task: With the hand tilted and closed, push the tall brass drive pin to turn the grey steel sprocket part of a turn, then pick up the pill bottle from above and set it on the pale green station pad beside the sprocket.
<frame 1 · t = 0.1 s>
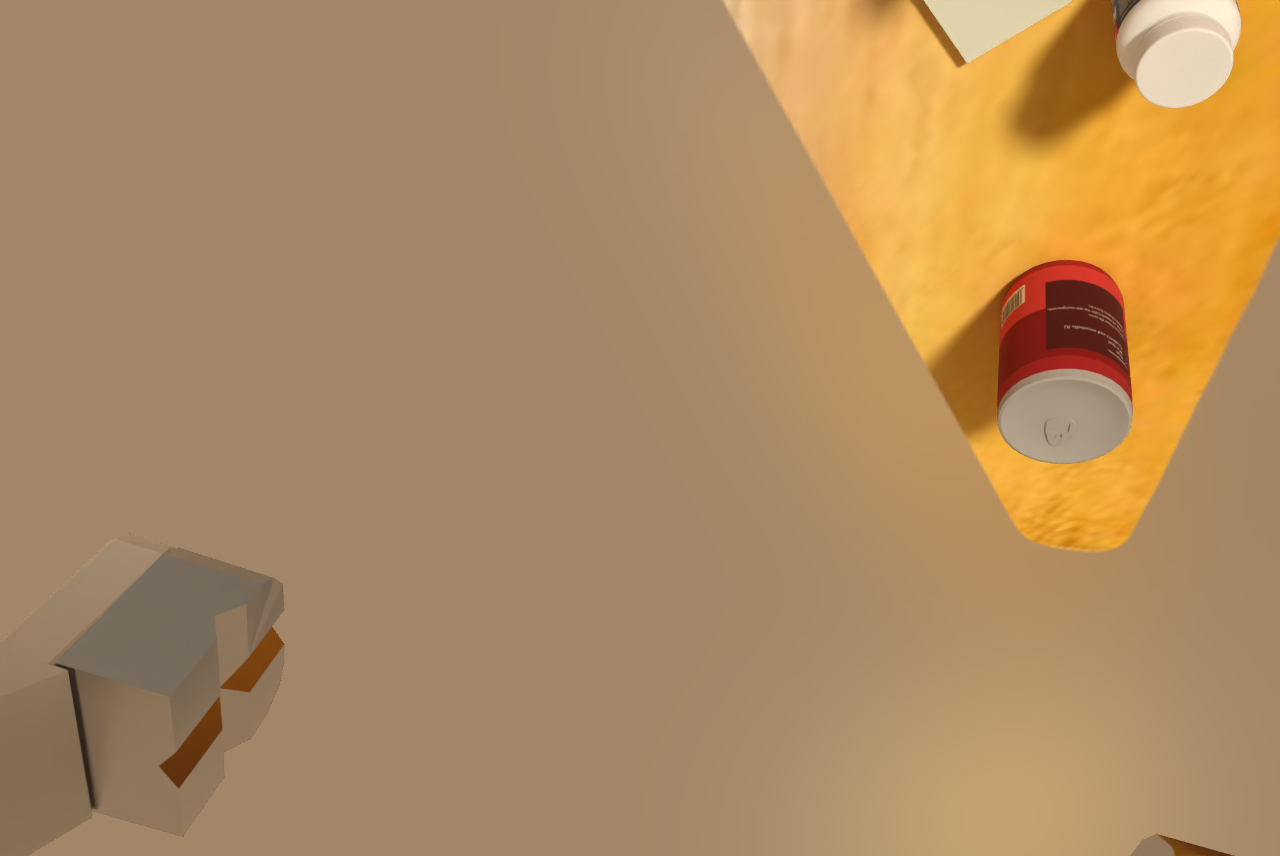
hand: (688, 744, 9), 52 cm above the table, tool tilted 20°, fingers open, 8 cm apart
canned food: (1060, 300, 68), on the table
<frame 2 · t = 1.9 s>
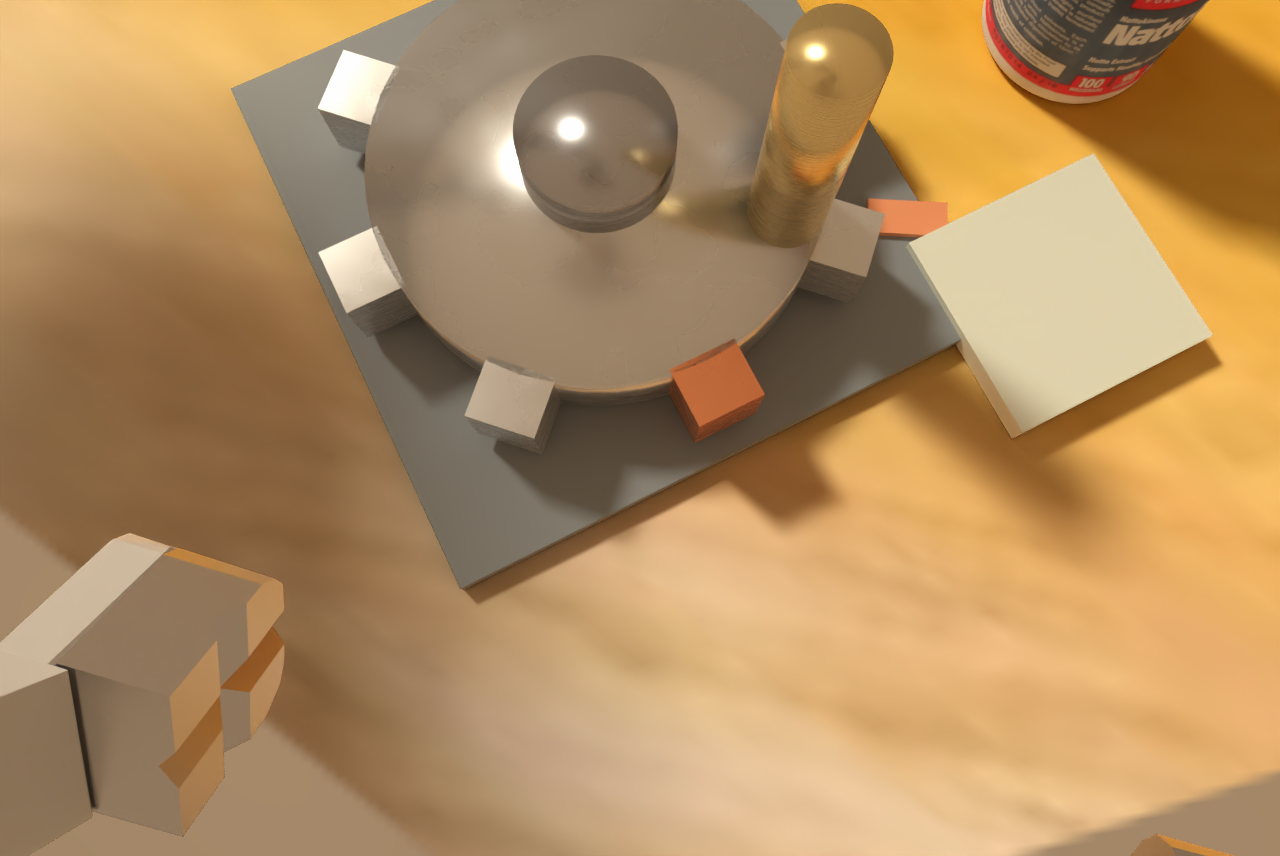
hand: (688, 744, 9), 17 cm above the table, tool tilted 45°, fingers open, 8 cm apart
sprocket: (593, 109, 24), point 6 cm above the table, hinge at 0.0°
gray square plate: (602, 210, 29), on the table
pill bottle: (1063, 33, 30), on the table
station pad: (1047, 298, 28), on the table
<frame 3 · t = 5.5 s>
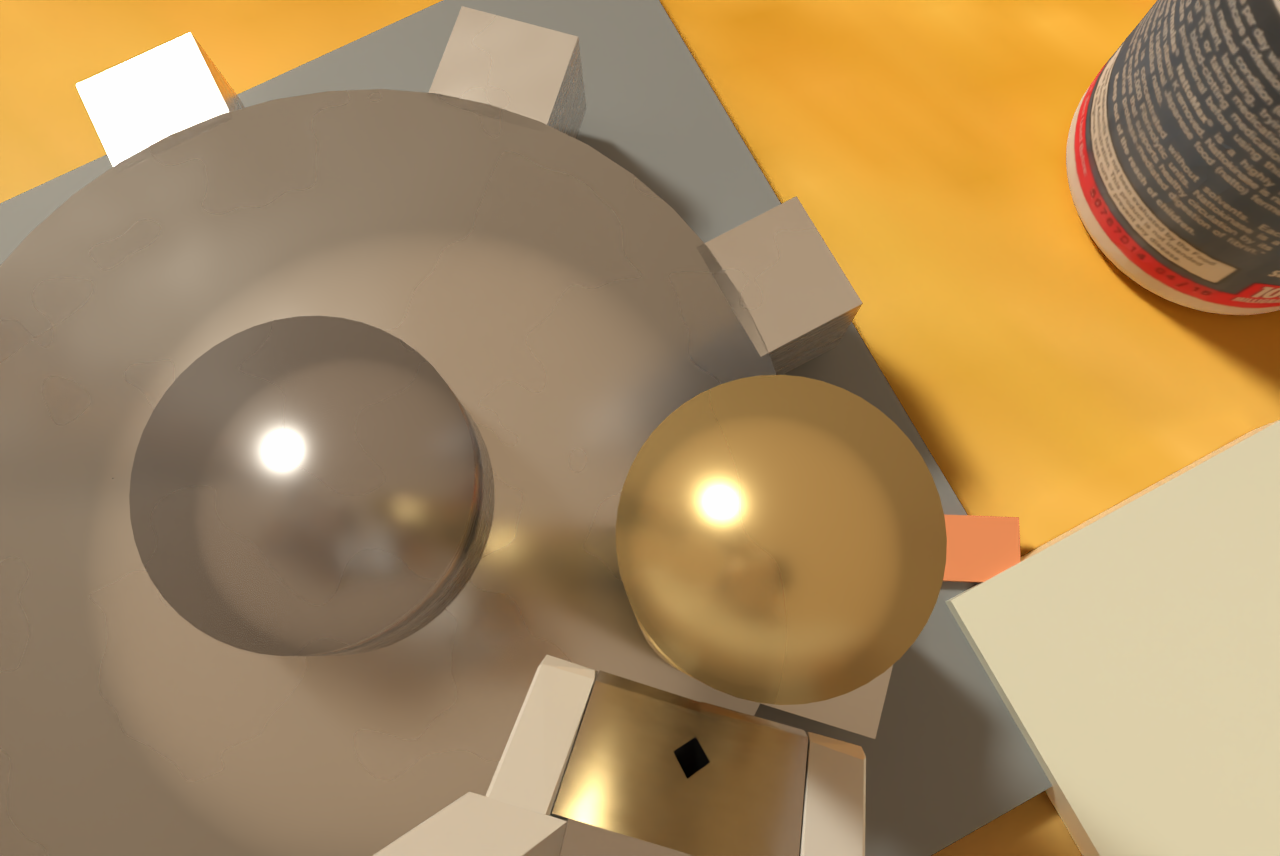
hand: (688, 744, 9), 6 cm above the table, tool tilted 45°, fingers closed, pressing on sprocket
sprocket: (273, 465, 11), point 6 cm above the table, hinge at 0.6°, touching gripper
gray square plate: (398, 528, 16), on the table
pill bottle: (1206, 182, 18), on the table
station pad: (1205, 686, 16), on the table
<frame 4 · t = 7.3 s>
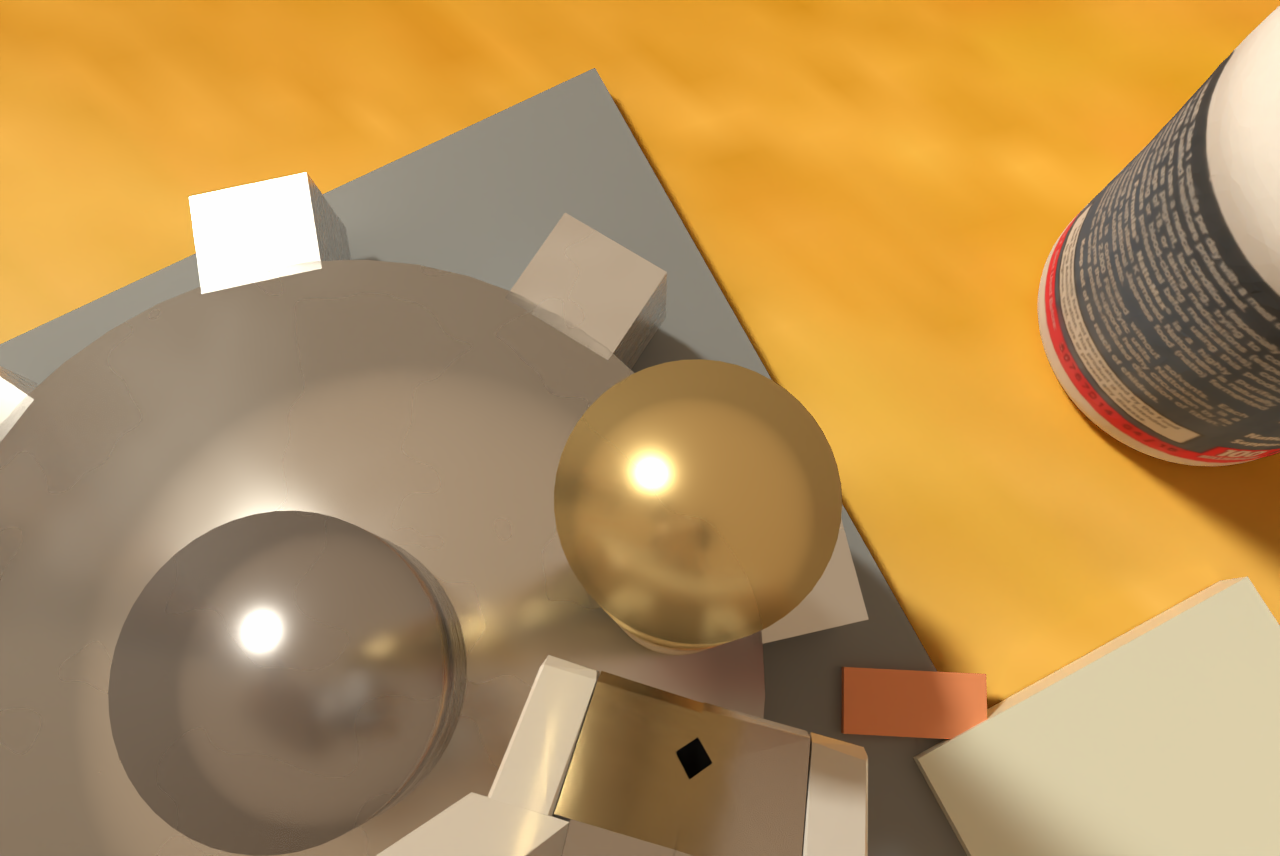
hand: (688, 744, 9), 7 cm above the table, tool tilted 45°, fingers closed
sprocket: (245, 677, 11), point 6 cm above the table, hinge at 30.4°
gray square plate: (378, 673, 17), on the table
pill bottle: (1176, 327, 18), on the table
station pad: (1170, 841, 16), on the table
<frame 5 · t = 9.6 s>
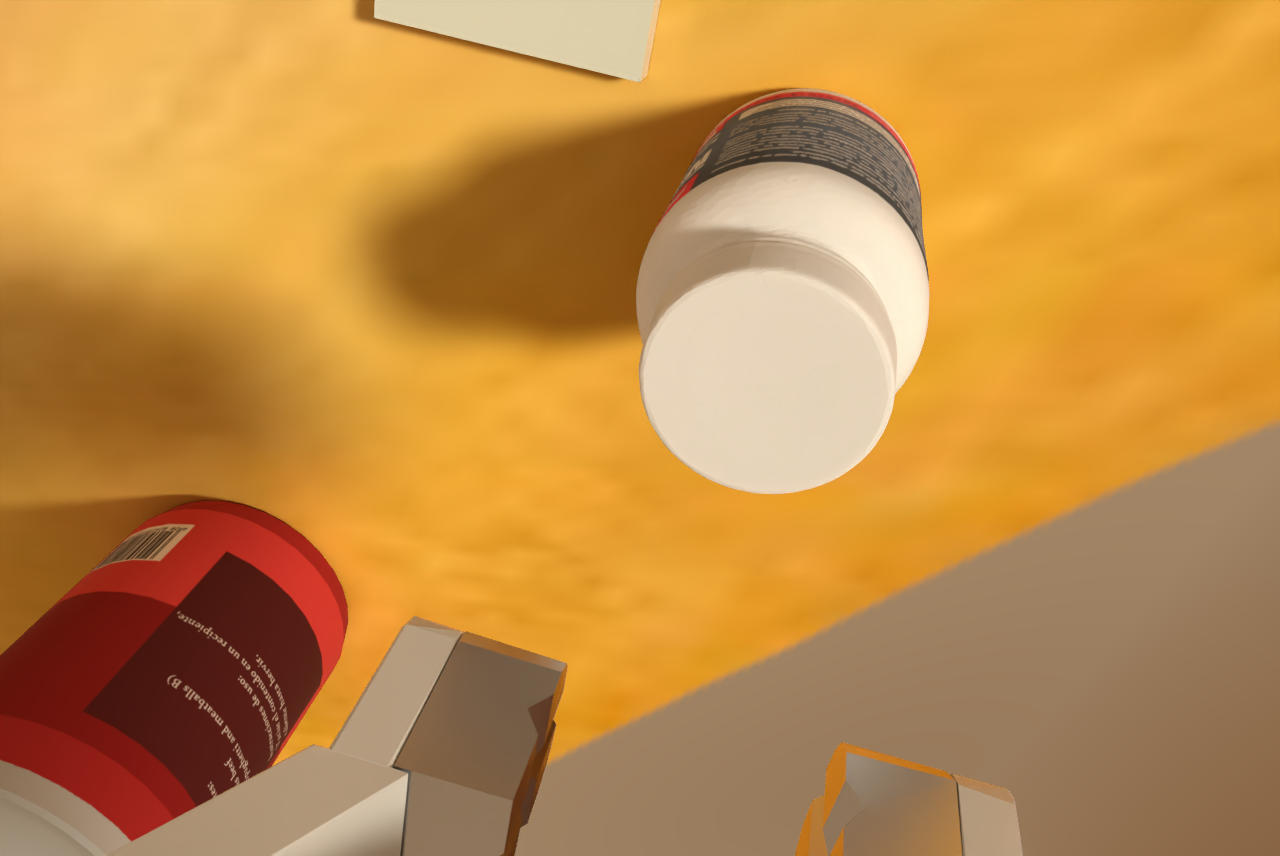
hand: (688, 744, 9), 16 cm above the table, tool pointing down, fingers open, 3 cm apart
canned food: (248, 586, 33), on the table
pill bottle: (800, 201, 23), on the table
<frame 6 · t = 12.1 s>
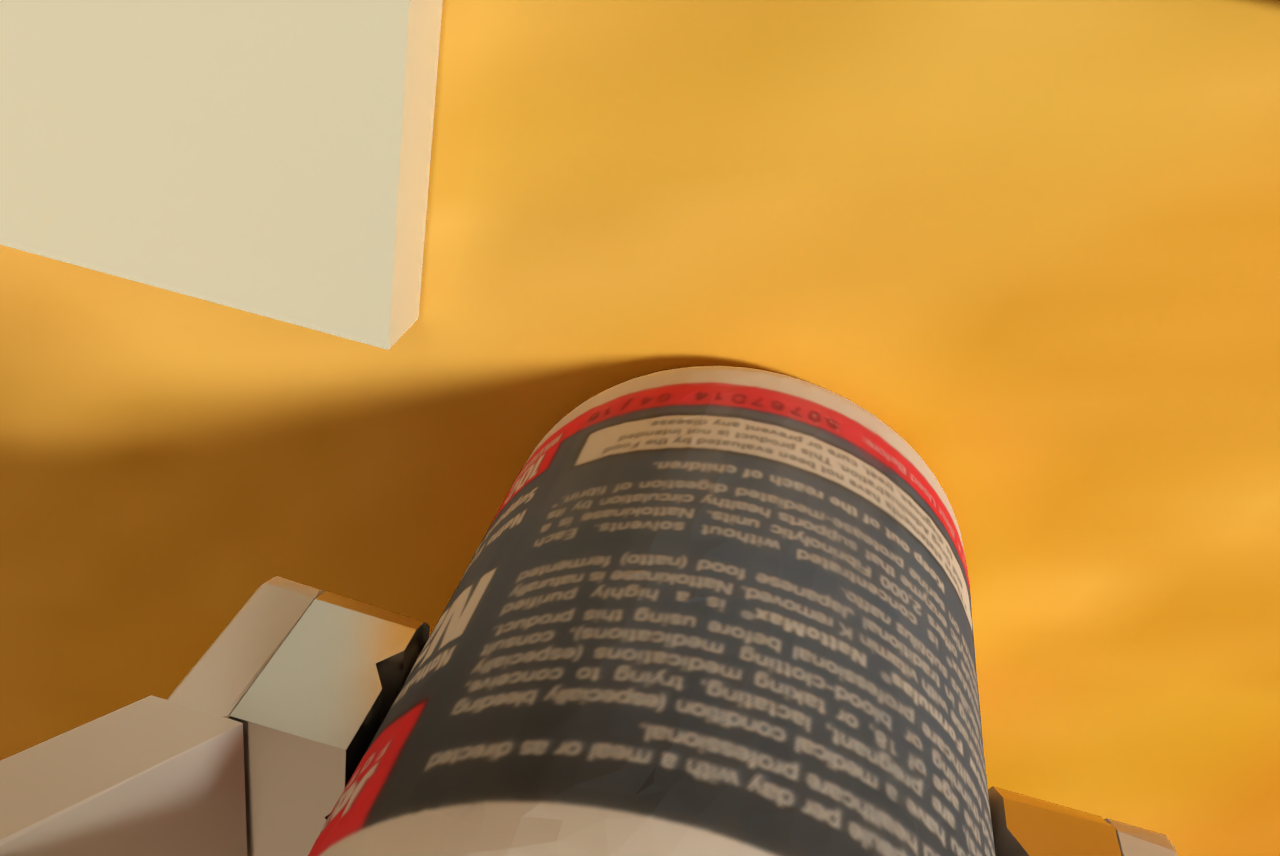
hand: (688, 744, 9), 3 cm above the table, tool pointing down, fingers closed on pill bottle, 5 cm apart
pill bottle: (731, 544, 12), on the table, touching gripper
when the fingers open (5 cm above the table, at t = 18.5 s): pill bottle stays where it is, resting on station pad.
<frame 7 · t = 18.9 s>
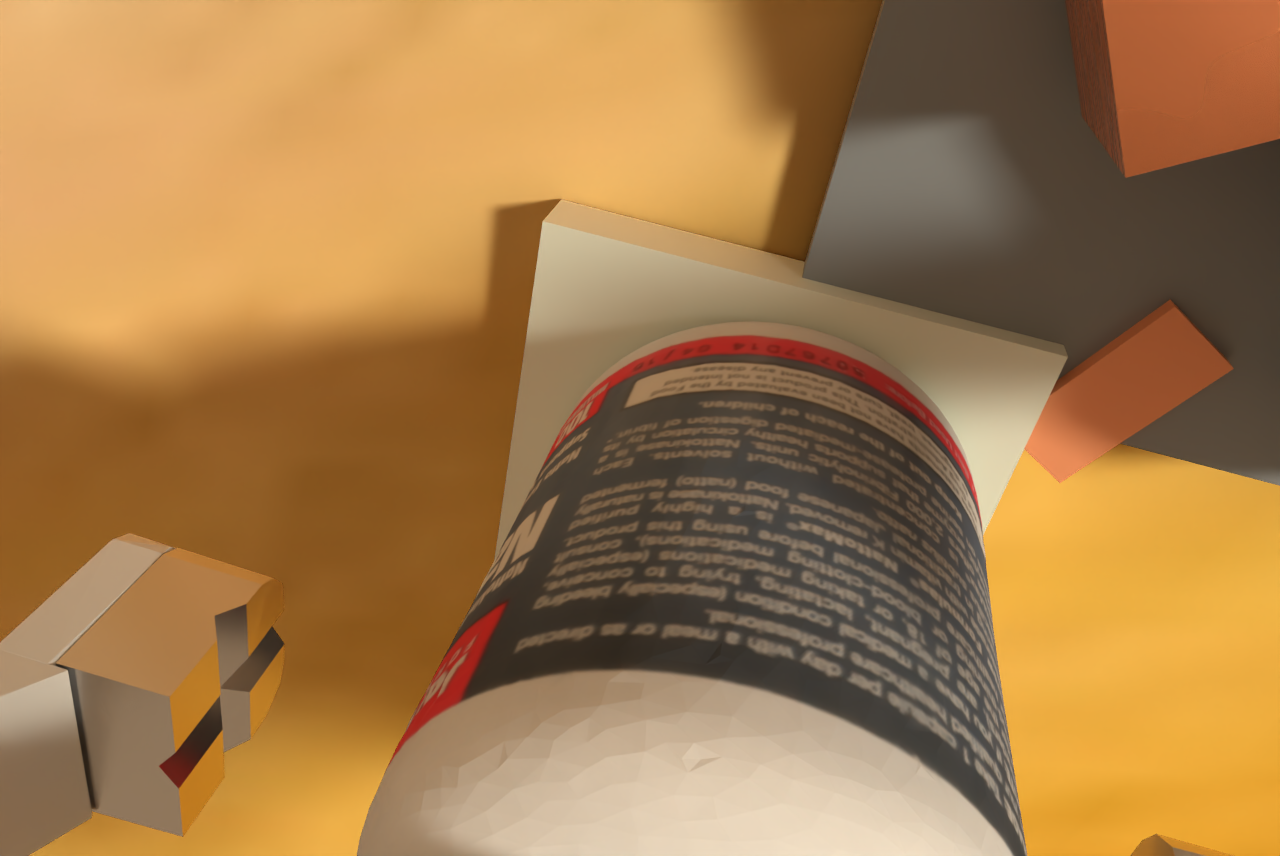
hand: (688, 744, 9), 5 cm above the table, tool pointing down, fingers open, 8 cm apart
pill bottle: (758, 492, 13), point 1 cm above the table, touching station pad
station pad: (743, 466, 14), on the table
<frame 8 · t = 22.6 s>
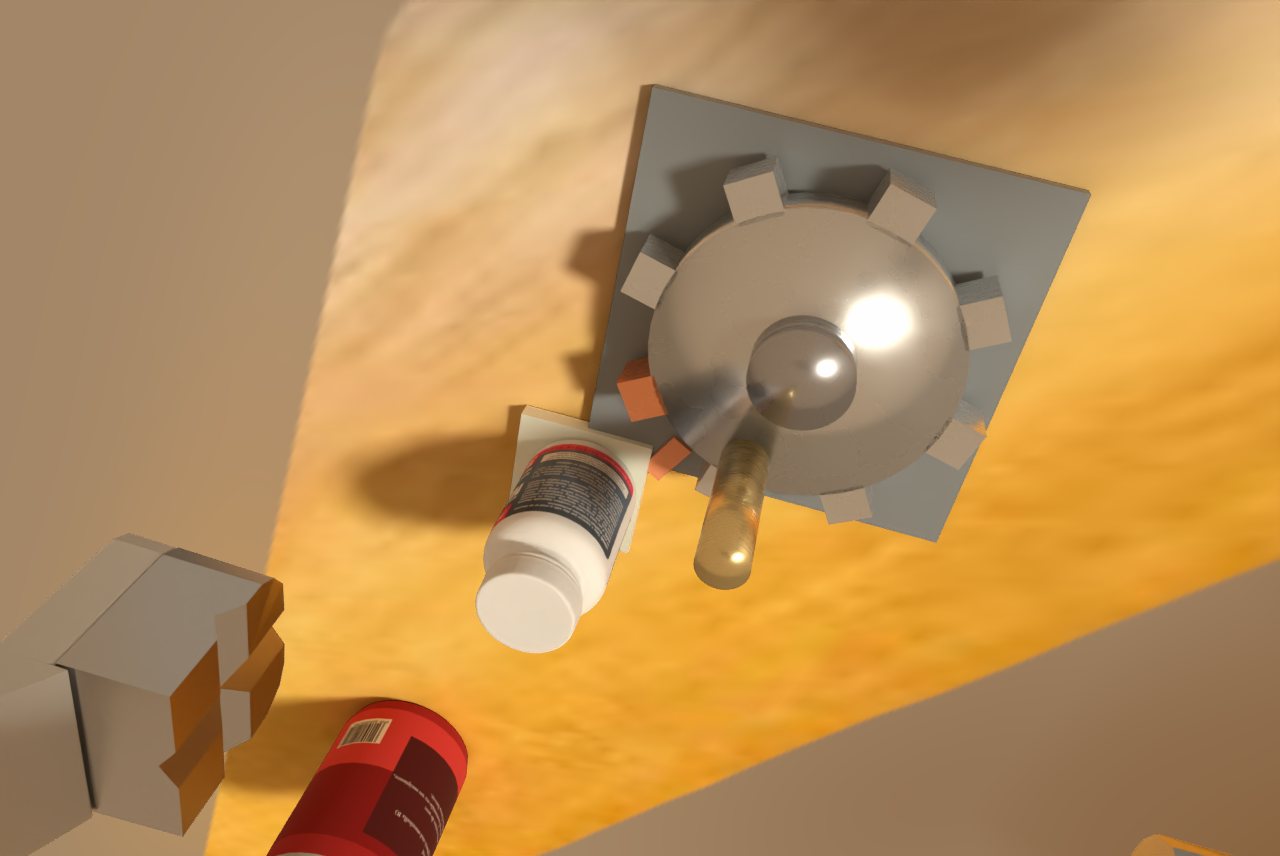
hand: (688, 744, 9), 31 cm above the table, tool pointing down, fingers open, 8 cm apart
canned food: (410, 742, 59), on the table
sprocket: (798, 395, 36), point 5 cm above the table, hinge at 30.4°
gray square plate: (808, 330, 41), on the table
pill bottle: (582, 483, 46), point 1 cm above the table, touching station pad
station pad: (580, 476, 47), on the table
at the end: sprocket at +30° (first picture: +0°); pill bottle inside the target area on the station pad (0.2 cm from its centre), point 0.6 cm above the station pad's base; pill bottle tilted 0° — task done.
